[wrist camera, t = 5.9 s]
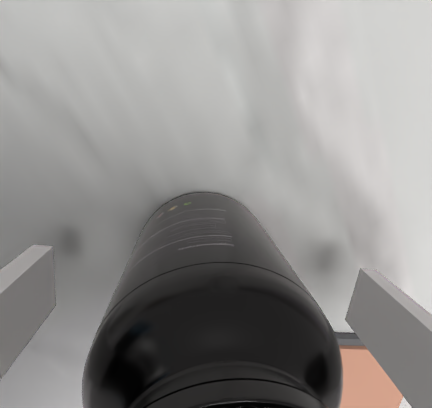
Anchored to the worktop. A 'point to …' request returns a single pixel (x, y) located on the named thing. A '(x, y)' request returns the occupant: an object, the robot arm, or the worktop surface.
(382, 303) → the robot arm
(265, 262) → the supplement bottle
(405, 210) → the worktop surface
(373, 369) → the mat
